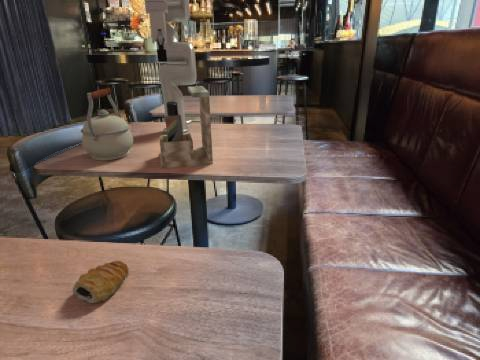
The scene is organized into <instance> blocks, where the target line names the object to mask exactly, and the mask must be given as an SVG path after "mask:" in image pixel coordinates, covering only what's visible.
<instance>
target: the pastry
mask: <svg viewBox="0 0 480 360" xmlns="http://www.w3.org/2000/svg"><path fill="white" fill-rule="evenodd" d="M127 275H128V276H129V267H128V265H127V264H126V263H125V262H123V261H122V260H112V261H110V262H108V263H107V262H105V263H104V264H102V265H97V266H96V267H95V268H89V269H88V270H87V272H86V273H83V274H81V275H80V276H79V278H78V280H76V281H75V283H74V285H73V287H72V294H74V295H75V296H76V297H77V296H78V297H77V298H78V299H79V300H80V301H81V300H82V301H87V303H89V304H97V303H101V302H104V301H106V300H108V299H110V297H111V296H112V295H114V294H116V293H117V291H118V290H119V289H118V288H120V287H121V286H122V285H123V284H122V283H124V282H125V281H126V280H125V278H126V277H127V278H128V276H127ZM127 278H126V279H127ZM124 280H125V281H124ZM123 281H124V282H123ZM121 284H122V285H121ZM120 285H121V286H120ZM117 289H118V290H117ZM116 290H117V291H116Z"/></svg>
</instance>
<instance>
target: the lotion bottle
mask: <svg viewBox="0 0 480 360" xmlns="http://www.w3.org/2000/svg"><path fill="white" fill-rule="evenodd" d="M166 106H167V116H165V115H164V119H165V128H166V130H167V133H166V135H167V139H168V142H175V141H183V134H184V133H183V130H182V120H181V115H178V106H177V102H172V101H170V102H167V103H166Z"/></svg>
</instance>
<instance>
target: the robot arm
mask: <svg viewBox="0 0 480 360" xmlns="http://www.w3.org/2000/svg"><path fill="white" fill-rule="evenodd" d="M144 6H145V13H146V14H149V16H148V17H149V27H150V35H151V42H152V44H153V45H155V42H156V55H157V62H158V63H165V64H162V65H160V67H159V68H158V70H157V71H158V73H157V74H158V78H159V81H160V86H161V92H162V100H163V109H164V117H165V116H167V106H166V103H167V102H170V101H172V102H177V106H178V115H181V120H182V130H183V134H185V133H187V132H189V130H190V127H189V126H188V125H192V124H193V122H192V120H191V119H189V120H186V116H185V104H184V95H183V92H182V91H181V90H180V88H179V87H178V86H189V85H191V86H192V85H194V84H195V83H196V82H197V77H198V75H197V65H196V64H197V63H196V61H197V60H196V53H195V52H196V50H195V47H194V45H193V44H192V43H191V42H188V41H179V35H178V32H177V31H176V29H175V28H174V27H173V26H172V25H170V23H186V22H188V21H189V20H190V17H191V11H190V10H191V9H190V0H144ZM163 133H165V134H167V130H166V127H165V128H163Z"/></svg>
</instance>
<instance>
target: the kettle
mask: <svg viewBox="0 0 480 360" xmlns="http://www.w3.org/2000/svg"><path fill="white" fill-rule="evenodd" d="M111 94H112V90H111V89H110V87H105V88H102V89H97V90H95V91H89V92H87V93H86V98H87V100H88V109H87V115H86V121H85V122H84V123H83V126H82V128H81V129H80V133H81V134H82V135H81V136H82V138H81V144H82V147H83V149H84V150H85V152H87V153H88V154H89V155H90V156H91V159H93V160H95V161H113V160H118V159H122V158H125V157H126V156H128V155H129V154H130V150H131V148H132V146H133V144H134V137H133V135H132V132H131V125H130V124H128V122H127V121H126V120H125V119H124V118H122V117H120V116H119V111H118V107H117V105H116V104H115V102H114V100H113V98H112V95H111ZM105 96H107V99H108V101H109V103H110V104H111V107H112V109H113V113H114V115H109V114H110V112H108V110H107V109H103V108H102V109H100V110H99V111H98V112H97V115H98V116H95V117H92V114H93V109H94V100H95V99H100V98H102V97H105Z"/></svg>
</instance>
